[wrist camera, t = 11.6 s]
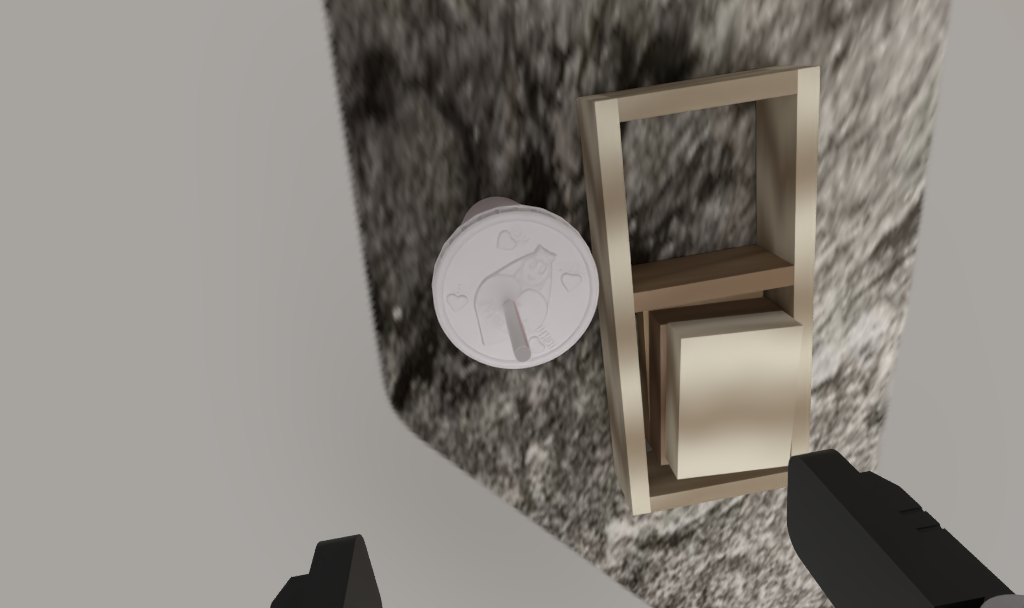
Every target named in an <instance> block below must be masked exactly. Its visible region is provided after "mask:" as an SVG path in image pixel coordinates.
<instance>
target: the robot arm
mask: <svg viewBox="0 0 1024 608" xmlns="http://www.w3.org/2000/svg"><path fill="white" fill-rule="evenodd" d="M787 527H788V532H789V536H790V539H791V542H792V545H793V547H794V549H795V551H796V553H797V555H798V556H799V558H800V559H801V561H802V562H803V564H804V565H805V566H806V568H807V569H808V570H809V572H810V573H811V575H812V576H813V577H814V579H815V580H816V582H817V583H818V584H819V586H820V587H821V589H822V590H823V591H824V593H825V594H826V596H827V597H828V598H829V600H830V601H831V603H832V604H833V605H834V607H835V608H1024V595H1016V594H1015V593H1013V592H1012V591H1011V590H1010V589H1009V588H1008V587H1007V586H1006V585H1005V584H1004V583H1003V582H1002V581H1000V580H999V579H998V578H997V577H996V576H995V575H994V574H993V573H992V572H991V571H990V570H989V569H987V567H985V566H984V565H983V564H982V563H981V562H980V561H979V560H978V559H977V558H976V557H975V556H974V555H973V554H972V553H970V552H969V551H968V550H967V549H966V548H965V547H964V546H963V545H962V544H961V543H960V542H959V541H958V540H956V539H955V538H954V537H953V536H952V535H951V534H950V533H949V532H948V531H947V530H946V529H942V528H941V527H940V524H939V523H938V522H937V521H936V520H935V519H934V518H933V517H932V516H931V515H930V514H929V513H928V512H926V511H925V512H924V511H923V510H922V507H921V506H920V505H919V504H918V503H917V502H916V501H915V500H913V498H911V497H910V496H909V495H908V494H907V493H906V492H905V491H904V490H903V489H902V488H901V487H899V486H898V485H896V484H894V483H892V482H890V481H888V480H886V479H884V478H882V477H880V476H879V475H877V474H875V473H873V472H871V471H867V472H862V473H859V472H858V471H857V470H856V469H855V468H854V467H853V466H852V465H851V464H850V463H849V462H848V461H847V460H846V459H845V458H844V457H843V456H842V455H841V454H840V453H839V452H838V451H836V450H834V449H827V450H822V451H817V452H811V453H806V454H800V455H795V456H792V457H791V458H790V460H789V463H788V490H787ZM270 608H382V602H381V597H380V593H379V590H378V587H377V583H376V580H375V576H374V573H373V569H372V566H371V562H370V559H369V555H368V552H367V548H366V545H365V542H364V539H363V537H362V536H361V535H360V534H358V535H353V536H347V537H342V538H337V539H331V540H326V541H320V542H319V543H318V544H317V546H316V549H315V553H314V557H313V560H312V564H311V568H310V572H309V574H306V575H300V576H295V577H291V578H290V579H289V580H288V582H287V583H286V585H285V586H284V587H283V589H282V590H281V591H280V592H279V594H278V595H277V596H276V598H275V599H274V600H273V602H272V604H271V607H270Z"/></svg>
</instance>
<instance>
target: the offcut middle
mask: <svg viewBox="0 0 1024 608" xmlns="http://www.w3.org/2000/svg"><path fill="white" fill-rule="evenodd" d="M773 311H783V310H782V309H781V308H780V307H778V306H777V305H775V304H774V303H773V302H771V301H770V300H768V299H767V298H766V297H759V298H751V299H743V300H734V301H726V302H718V303H709V304H701V305H693V306H685V307H676V308H668V309H660V310H651V311H648V312H649V397H650V446H651V448H652V450H653V452H654V453H655V455H656V457H657V459H658V461H659V463H660V464H661V465H668V464H669V463H668V462H667V460H666V458H665V431H666V375H667V323H670V322H679V321H689V320H698V319H707V318H717V317H726V316H736V315H745V314H754V313H764V312H773Z"/></svg>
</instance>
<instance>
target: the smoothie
mask: <svg viewBox="0 0 1024 608" xmlns="http://www.w3.org/2000/svg"><path fill="white" fill-rule="evenodd" d="M432 291H433V298H434V306H435V311H436V314H437V317H438V320H439V322H440V325H441V327H442V329H443V330H444V332H445V334H446V335H447V336H448V338H449V339H450V340H451V341H452V343H453V344H454V345H455V346H456V347H457V348H459V349H460V350H461V351H462V352H463V353H465V354H466V355H468V356H469V357H471V358H473V359H475V360H477V361H479V362H481V363H484V364H486V365H490V366H494V367H499V368H508V369H519V368H527V367H533V366H536V365H540V364H543V363H545V362H548V361H550V360H552V359H554V358H556V357H558V356H559V355H561V354H563V353H564V352H565V351H567V350H568V349H569V348H570V347H571V346H573V345H574V344H575V343H576V342H577V341H578V340H579V338H580V337H581V336H582V335H583V333H584V332H585V330H586V329H587V327H588V326H589V324H590V322H591V320H592V318H593V315H594V313H595V310H596V306H597V302H598V296H599V278H598V272H597V268H596V264H595V261H594V259H593V257H592V254H591V252H590V249H589V247H588V246H587V244H586V243H585V241H584V240H583V238H582V237H581V235H580V234H579V232H578V231H577V230H576V229H575V228H574V227H572V226H571V225H570V224H569V223H568V222H567V221H565V220H564V219H563V218H562V217H560V216H558V215H556V214H554V213H551V212H549V211H547V210H545V209H543V208H538V207H532V206H526V205H521V204H519V203H517V202H516V201H514V200H512V199H509V198H506V197H498V196H496V197H489V198H485V199H483V200H481V201H479V202H477V203H476V204H474V205H473V206H472V207H471V208H470V209H469V210H468V212H467V213H466V215H465V217H464V219H463V221H462V223H461V226H459V227H458V228H457V229H456V230H455V232H454V233H453V234H452V235H451V236H450V238H449V239H448V240H447V241H446V242H445V244H444V245H443V247H442V250H441V252H440V254H439V256H438V258H437V261H436V263H435V267H434V273H433V280H432Z"/></svg>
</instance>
